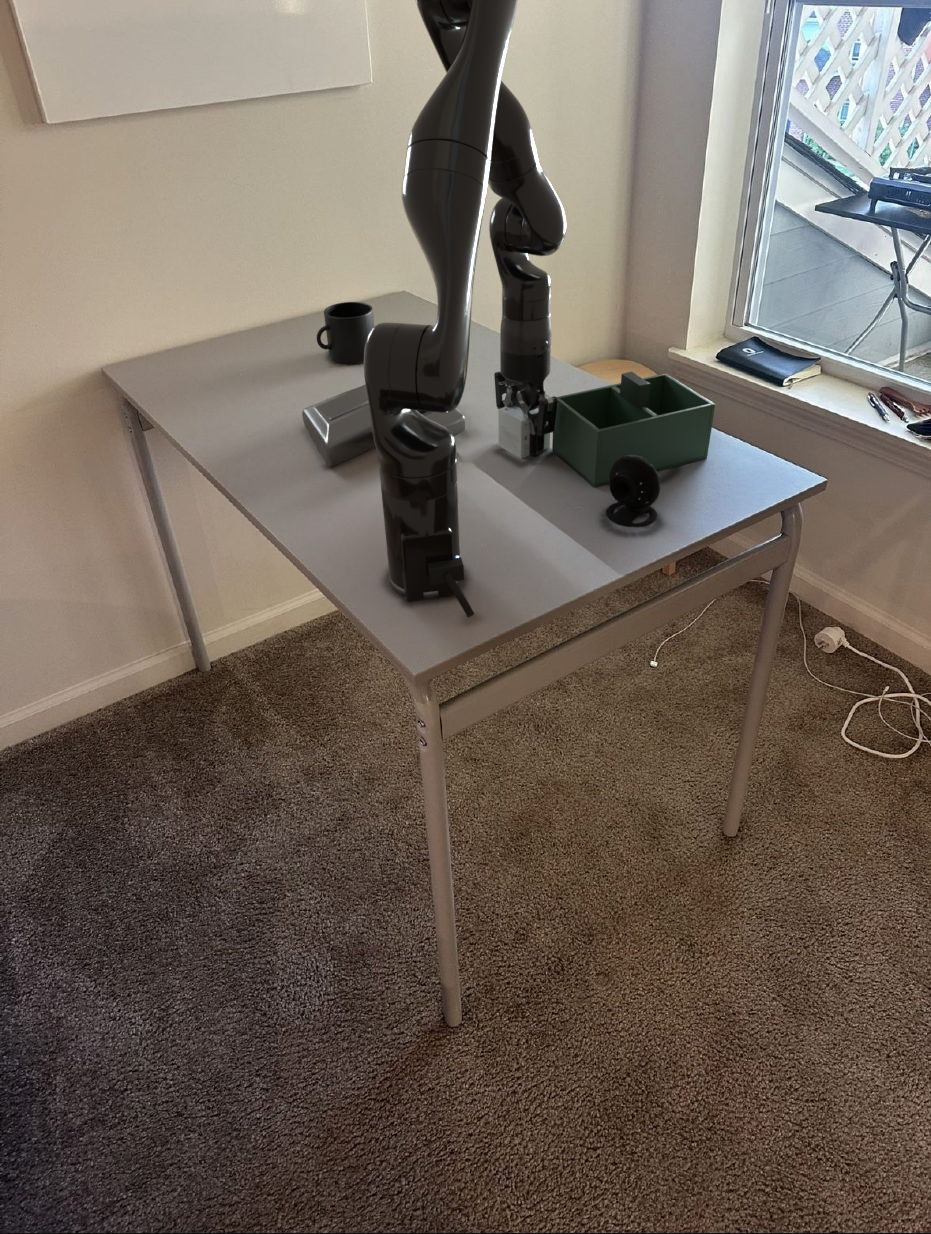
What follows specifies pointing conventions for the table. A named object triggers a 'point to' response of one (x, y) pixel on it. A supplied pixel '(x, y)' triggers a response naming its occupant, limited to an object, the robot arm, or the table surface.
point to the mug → (347, 331)
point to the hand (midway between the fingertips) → (524, 445)
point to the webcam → (633, 490)
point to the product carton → (516, 431)
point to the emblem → (356, 425)
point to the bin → (632, 426)
